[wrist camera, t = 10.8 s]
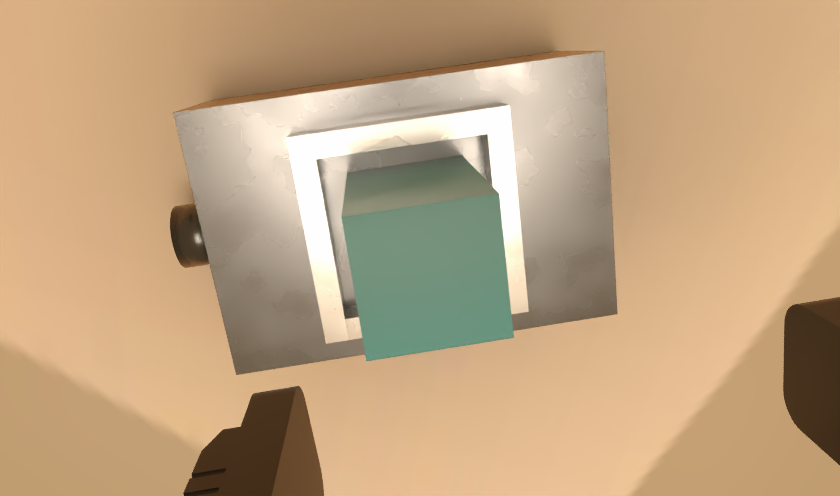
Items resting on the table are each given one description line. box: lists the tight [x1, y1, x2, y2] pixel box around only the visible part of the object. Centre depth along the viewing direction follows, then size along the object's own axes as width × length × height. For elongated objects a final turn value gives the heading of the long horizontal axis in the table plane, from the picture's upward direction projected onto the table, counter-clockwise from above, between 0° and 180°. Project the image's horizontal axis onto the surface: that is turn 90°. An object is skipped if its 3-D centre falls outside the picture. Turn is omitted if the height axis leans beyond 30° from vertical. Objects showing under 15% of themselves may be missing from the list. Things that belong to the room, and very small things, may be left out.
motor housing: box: [170, 51, 617, 375], centre depth 32 cm, size 20×12×8 cm, turn 98°
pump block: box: [341, 155, 514, 361], centre depth 25 cm, size 5×5×8 cm
